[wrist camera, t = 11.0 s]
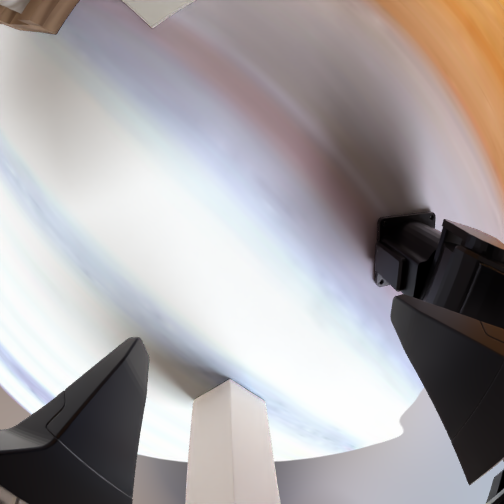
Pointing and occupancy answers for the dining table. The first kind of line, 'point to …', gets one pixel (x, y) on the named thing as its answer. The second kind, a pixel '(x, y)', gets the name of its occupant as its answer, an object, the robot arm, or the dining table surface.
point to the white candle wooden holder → (36, 14)
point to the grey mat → (156, 9)
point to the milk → (230, 449)
